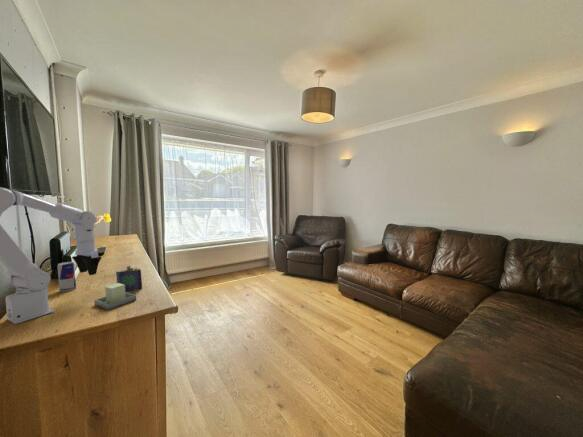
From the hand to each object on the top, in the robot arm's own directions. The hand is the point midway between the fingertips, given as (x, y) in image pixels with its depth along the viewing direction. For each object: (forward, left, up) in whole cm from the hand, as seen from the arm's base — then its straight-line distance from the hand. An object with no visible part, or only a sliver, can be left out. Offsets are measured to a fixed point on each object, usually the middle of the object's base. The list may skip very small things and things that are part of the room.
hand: (88, 273), depth 98 cm
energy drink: (-1, +17, -10) cm, 20 cm away
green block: (+1, -18, -9) cm, 20 cm away
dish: (+1, -18, -9) cm, 20 cm away
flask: (+11, -9, -10) cm, 17 cm away
